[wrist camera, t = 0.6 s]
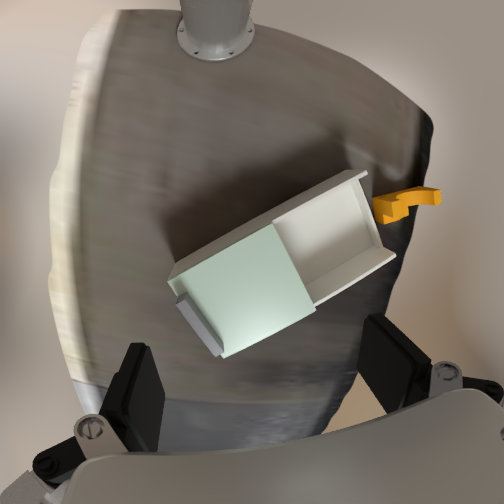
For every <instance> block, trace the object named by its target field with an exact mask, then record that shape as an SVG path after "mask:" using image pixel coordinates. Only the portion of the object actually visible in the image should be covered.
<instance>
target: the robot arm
mask: <svg viewBox="0 0 504 504" xmlns="http://www.w3.org/2000/svg"><path fill="white" fill-rule="evenodd" d="M252 2H253V0H180V5H181V10H182V15H183V19H182V20H181V22H180V23H179V26H178V29H177V38H178V42H179V45H180V46H181V48H182V49H183V50H184V51H185V52H186V53H187V54H188V55H190V56H191V57H193V58H196V59H198V60H202V61H208V62H219V61H225V60H229V59H232V58H234V57H236V56H238V55H240V54H241V53H243V52H244V51H245V50H246V49H247V48H248V47H249V46H250V44H251V42H252V40H253V37H254V33H255V28H254V23H253V21H252V19H251V18H250V17H249V14H250V10H251V6H252ZM182 31H183V32H182ZM196 53H198V54H196ZM230 53H232V55H231V54H230ZM357 368H358V371H359V373H360V374H361V376H362V377H363V379H364V380H365V382H366V383H367V385H368V386H369V387H370V389H371V391H372V392H373V394H374V395H375V397H376V398H377V400H378V401H379V403H380V404H381V405H382V407H383V408H384V410H385V411H386V413H387V414H386V415H384V416H381V417H378V418H375V419H372V420H369V421H366V422H363V423H360V424H357V425H354V426H350V427H347V428H343V429H340V430H336V431H332V432H329V433H325V434H321V435H316V436H312V437H308V438H303V439H298V440H293V441H288V442H283V443H277V444H271V445H264V446H257V447H249V448H240V449H230V450H217V451H196V452H157V449H158V441H159V434H160V427H161V421H162V414H163V408H164V402H165V392H164V389H163V386H162V383H161V380H160V377H159V374H158V371H157V368H156V365H155V362H154V359H153V356H152V353H151V349H150V347H149V346H146V345H145V343H131V344H130V346H129V348H128V350H127V353H126V355H125V358H124V360H123V362H122V365H121V367H120V370H119V372H117V373H115V375H114V376H113V379H112V381H111V384H110V386H109V389H108V391H107V394H106V396H105V399H104V401H103V404H102V406H101V409H100V412H99V414H98V415H97V414H89V415H86V416H83V417H82V418H80V419H79V420H78V421H77V422H76V424H75V426H74V434H75V436H73V437H71V438H69V439H67V440H65V441H63V442H61V443H59V444H57V445H55V446H53V447H51V448H49V449H47V450H45V451H42V452H41V453H39V454H38V455H37V456H36V457H35V458H34V460H33V466H32V467H33V470H32V471H31V472H29V471H28V470H27V471H26V472H25V473H24V474H22V475H21V476H20V477H19V478H18V479H17V480H16V481H14V482H13V483H12V484H11V485H10V486H9V487H7V488H6V489H5V490H4V491H3V492H2V493H1V496H0V504H504V391H503V388H502V387H501V386H500V385H499V384H498V383H496V382H494V381H489V380H483V379H476V378H469V377H463V376H462V372H461V369H460V368H459V366H457V365H456V364H454V363H452V362H448V361H441V362H438V363H436V364H434V366H433V365H432V364H431V359H430V358H429V357H428V356H427V355H426V354H425V353H424V352H423V351H422V350H420V349H419V348H418V347H417V346H416V345H415V344H414V343H413V342H412V341H411V340H410V339H409V338H408V337H407V336H406V335H405V334H404V333H403V332H402V331H400V330H399V329H398V328H397V327H396V326H395V325H394V324H393V323H392V322H391V321H390V320H388V318H386V317H385V316H384V315H383V314H382V313H380V312H379V313H375V314H370V315H368V317H367V318H366V319H365V320H364V326H363V333H362V340H361V346H360V352H359V358H358V363H357Z"/></svg>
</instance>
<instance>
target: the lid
mask: <svg viewBox="0 0 504 504" xmlns="http://www.w3.org/2000/svg"><path fill="white" fill-rule="evenodd" d="M167 282H168V283H169V285H170V286H171V288H172V289H173V291H174V292H175V294H176V295H177V296H178V298H177V302H176V306H177V307H178V308H179V310H180V311H181V313H182V314H183V315H184V317H185V318H186V319H187V321H188V322H189V323H190V325H191V326H192V327H193V329H194V330H195V331H196V333H197V334H198V335H199V337H200V338H201V339H202V340H203V342H204V343H205V344H206V346H207V347H208V348H209V349H210V351H211V352H212V353H213V354H214V356H215V357H216V356H218V355H220V354H221V356H222V357H223V358H225V357H227V356H230V355H232V354H234V353H236V352H238V351H240V350H242V349H244V348H246V347H248V346H250V345H252V344H254V343H256V342H258V341H260V340H262V339H264V338H266V337H268V336H270V335H272V334H274V333H276V332H278V331H280V330H282V329H283V328H285V327H287V326H289V325H291V324H293V323H295V322H296V321H298V320H300V319H302V318H304V317H305V316H307V315H309V314H311V313H313V312H314V311H316V309H315V307H314V305H313V303H312V301H311V299H310V296H309V294H308V292H307V290H306V288H305V286H304V284H303V282H302V280H301V278H300V276H299V274H298V272H297V270H296V268H295V266H294V264H293V262H292V260H291V258H290V257H289V255H288V253H287V251H286V249H285V247H284V245H283V243H282V241H281V239H280V237H279V235H278V233H277V231H276V229H275V227H274V225H273V224H272V222H270V223H268V224H266V225H265V226H263V227H261V228H259V229H257V230H255V231H254V232H252V233H250V234H248V235H246V236H245V237H243V238H241V239H239V240H237V241H236V242H234V243H232V244H230V245H228V246H227V247H225V248H223V249H221V250H219V251H218V252H216V253H214V254H212V255H211V256H209V257H207V258H205V259H203V260H202V261H200V262H198V263H196V264H195V265H193V266H191V267H189V268H187V269H186V270H184V271H182V272H180V273H179V274H177V275H175V276H173V277H172V278H170V279H168V281H167Z"/></svg>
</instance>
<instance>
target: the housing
mask: <svg viewBox="0 0 504 504" xmlns="http://www.w3.org/2000/svg"><path fill="white" fill-rule="evenodd" d="M367 174H368V173H367V170H344V171H342V172H341V173H339V174H337V175H335V176H333V177H331V178H329V179H327V180H325V181H323V182H321V183H319V184H317V185H315V186H314V187H312V188H310V189H308V190H306V191H304V192H302V193H300V194H298V195H296V196H295V197H293V198H291V199H289V200H287V201H285V202H283V203H282V204H280V205H278V206H276V207H274V208H272V209H270V210H269V211H267V212H265V213H263V214H261V215H259V216H258V217H256V218H254V219H252V220H250V221H248V222H247V223H245V224H243V225H241V226H239V227H238V228H236V229H234V230H232V231H230V232H229V233H227V234H225V235H223V236H221V237H220V238H218V239H216V240H214V241H213V242H211V243H209V244H207V245H206V246H204V247H202V248H200V249H198V250H197V251H195V252H193V253H192V254H190V255H188V256H186V257H185V258H183V259H181V260H179V261H178V262H176V263H175V265H174V267H173V269H172V272H171V274H170V276H169V279H170V278H172V277H173V276H175V275H177V274H179V273H180V272H182V271H184V270H186V269H187V268H189V267H191V266H193V265H195V264H196V263H198V262H200V261H202V260H203V259H205V258H207V257H209V256H211V255H212V254H214V253H216V252H218V251H219V250H221V249H223V248H225V247H227V246H228V245H230V244H232V243H234V242H236V241H237V240H239V239H241V238H243V237H245V236H246V235H248V234H250V233H252V232H254V231H255V230H257V229H259V228H261V227H263V226H265V225H266V224H268V223H270V222H272V224H273V225H274V227H275V229H276V231H277V233H278V235H279V237H280V239H281V241H282V243H283V245H284V247H285V249H286V251H287V253H288V255H289V257H290V258H291V260H292V262H293V264H294V266H295V268H296V270H297V272H298V274H299V276H300V278H301V280H302V282H303V284H304V286H305V288H306V290H307V292H308V294H309V296H310V299H311V301H312V303H313V305H314V307H315V306H317V305H319V304H320V303H322V302H324V301H326V300H327V299H329V298H331V297H332V296H334V295H336V294H338V293H339V292H341V291H343V290H344V289H346V288H348V287H349V286H351V285H352V284H354V283H356V282H357V281H359V280H361V279H362V278H364V277H365V276H367V275H368V274H370V273H372V272H373V271H375V270H376V269H378V268H379V267H381V266H382V265H384V264H386V263H387V262H389V261H390V260H392V259H393V258H395V257H396V254H395V253H394V252H392V251H390V250H388V249H386V248H384V247H383V245H382V242H381V239H380V236H379V233H378V230H377V228H376V225H375V222H374V219H373V216H372V213H371V211H370V208H369V205H368V203H367V200H366V198H365V195H364V192H363V190H362V187H361V185H360V183H359V180H358V179H360V178H362V177H363V176H365V175H367Z"/></svg>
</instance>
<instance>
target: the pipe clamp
mask: <svg viewBox="0 0 504 504" xmlns="http://www.w3.org/2000/svg"><path fill="white" fill-rule="evenodd" d="M372 201H373V208H374V215H375V221H377V222H379V223H382V224H387V223H390V222H393V221H397V220H400V219H401V218H403V217H405V216H408V215H409V213H408V206H411V205H419V204H429V205H438V204H441V192H440V189H433V188H428V187H421V186H418V187H414V188H410V189H406V190H402V191H398V192H394V193H390V194H385V195H381V196H377V197H373V198H372Z"/></svg>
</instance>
